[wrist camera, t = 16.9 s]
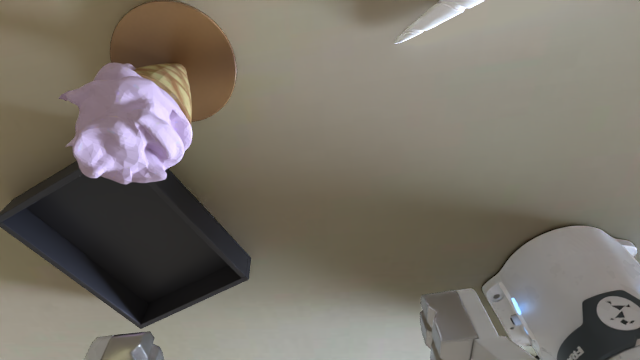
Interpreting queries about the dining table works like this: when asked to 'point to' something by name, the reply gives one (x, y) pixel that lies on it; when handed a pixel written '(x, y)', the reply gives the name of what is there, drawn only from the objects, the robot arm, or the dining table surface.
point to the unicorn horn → (436, 17)
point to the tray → (128, 241)
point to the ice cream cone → (132, 122)
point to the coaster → (179, 50)
